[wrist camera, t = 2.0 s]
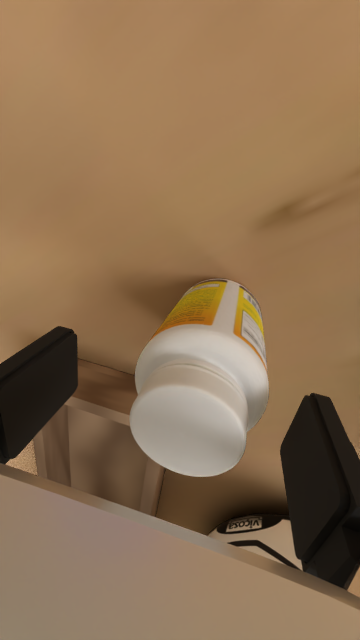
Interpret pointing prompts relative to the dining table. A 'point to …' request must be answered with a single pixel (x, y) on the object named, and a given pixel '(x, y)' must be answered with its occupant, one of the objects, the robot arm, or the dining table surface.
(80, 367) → the brown wooden tray
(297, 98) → the dining table surface
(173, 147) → the dining table surface
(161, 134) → the dining table surface
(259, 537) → the milk container
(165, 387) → the supplement bottle
